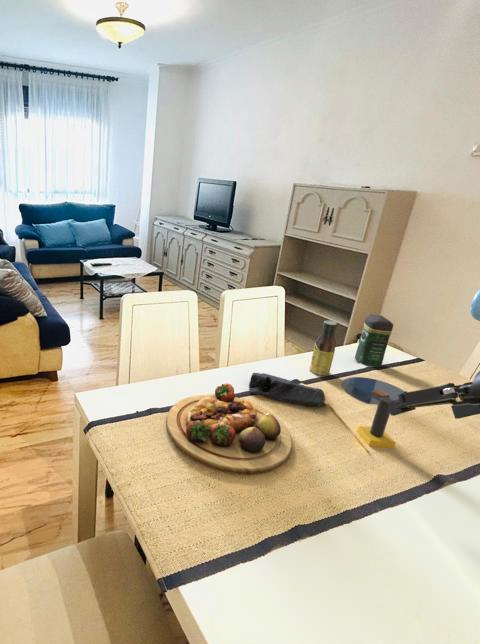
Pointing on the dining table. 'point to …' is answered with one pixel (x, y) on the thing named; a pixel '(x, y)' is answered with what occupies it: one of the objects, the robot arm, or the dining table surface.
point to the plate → (369, 389)
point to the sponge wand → (377, 427)
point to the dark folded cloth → (285, 390)
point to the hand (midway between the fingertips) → (422, 410)
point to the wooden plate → (229, 433)
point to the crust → (380, 393)
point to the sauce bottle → (324, 350)
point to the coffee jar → (373, 340)
